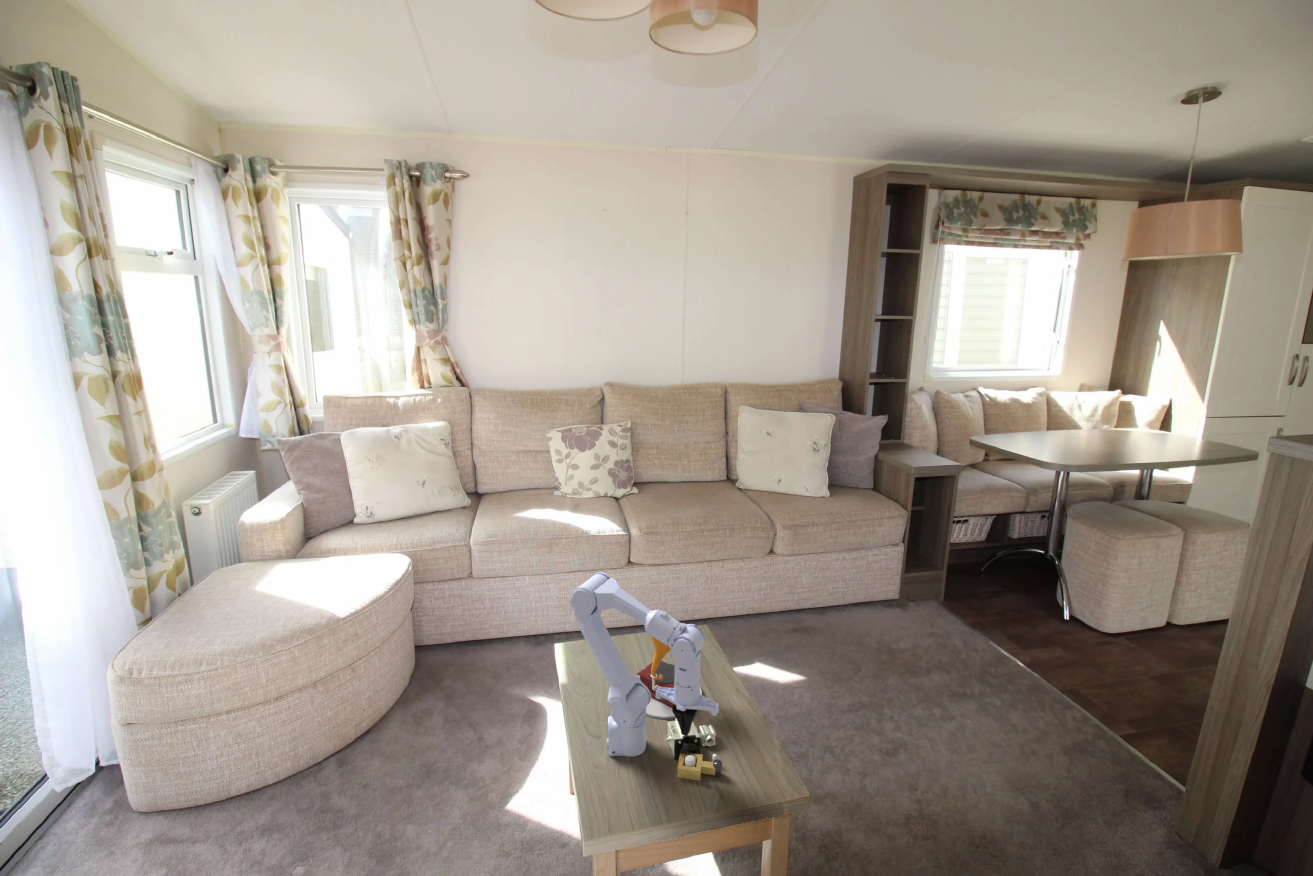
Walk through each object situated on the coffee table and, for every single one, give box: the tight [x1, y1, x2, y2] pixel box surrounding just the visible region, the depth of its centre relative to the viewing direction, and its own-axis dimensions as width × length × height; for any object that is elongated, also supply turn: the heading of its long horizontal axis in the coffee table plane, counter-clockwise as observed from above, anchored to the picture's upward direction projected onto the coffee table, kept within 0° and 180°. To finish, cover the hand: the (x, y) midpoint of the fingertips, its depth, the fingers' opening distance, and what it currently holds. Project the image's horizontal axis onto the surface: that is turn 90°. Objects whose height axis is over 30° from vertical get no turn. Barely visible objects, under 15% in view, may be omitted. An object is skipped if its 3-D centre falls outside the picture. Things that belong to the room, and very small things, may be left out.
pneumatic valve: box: [665, 717, 717, 760], centre depth 146 cm, size 6×12×12 cm
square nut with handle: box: [676, 753, 723, 781], centre depth 137 cm, size 5×10×3 cm, turn 81°
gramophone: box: [636, 634, 703, 720], centre depth 162 cm, size 20×20×25 cm
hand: (685, 732), depth 137 cm, fingers closed
